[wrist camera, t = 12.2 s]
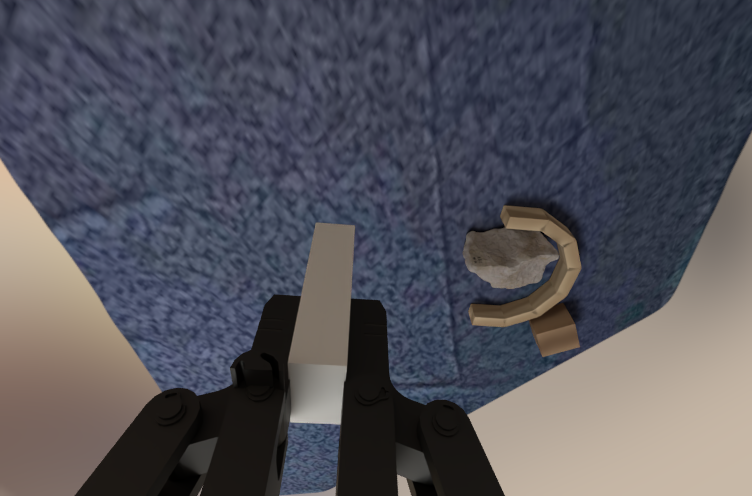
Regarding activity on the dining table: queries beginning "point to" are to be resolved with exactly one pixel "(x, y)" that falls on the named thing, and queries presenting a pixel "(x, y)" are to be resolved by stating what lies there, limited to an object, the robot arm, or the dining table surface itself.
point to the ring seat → (546, 293)
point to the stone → (508, 256)
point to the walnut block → (554, 331)
